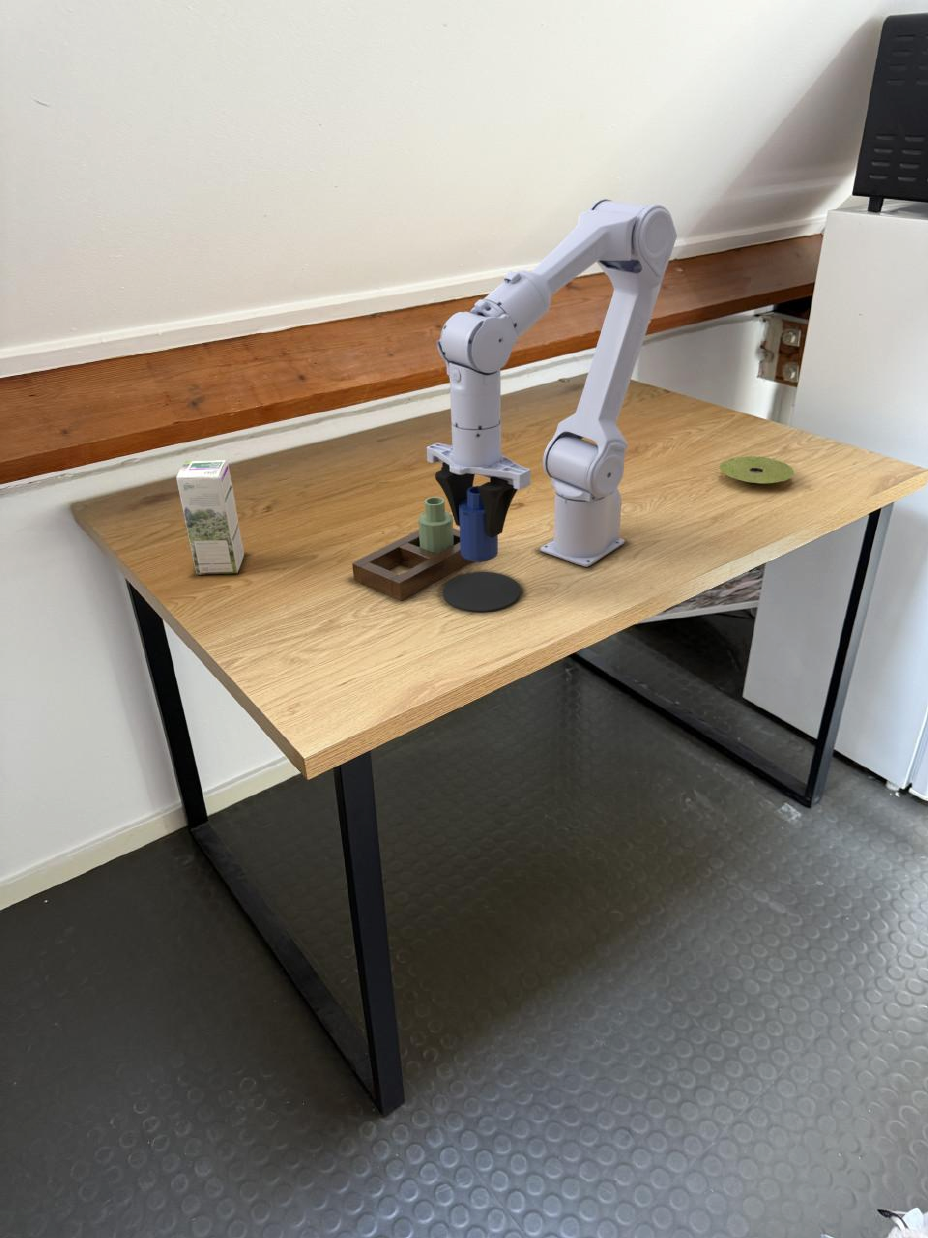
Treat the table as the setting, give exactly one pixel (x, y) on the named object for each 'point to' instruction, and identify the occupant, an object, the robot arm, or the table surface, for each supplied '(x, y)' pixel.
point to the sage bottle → (435, 526)
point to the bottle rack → (408, 553)
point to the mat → (756, 469)
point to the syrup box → (210, 516)
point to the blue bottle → (475, 529)
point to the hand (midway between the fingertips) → (478, 528)
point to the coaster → (481, 592)
